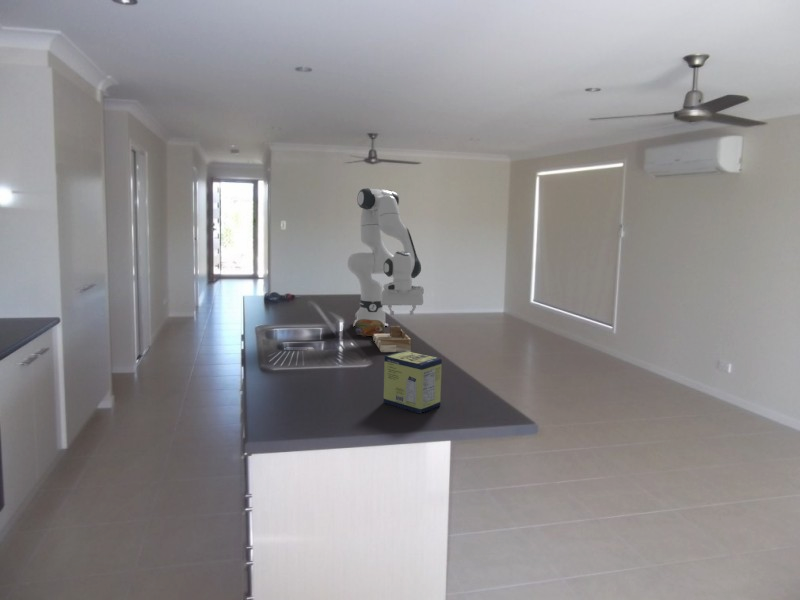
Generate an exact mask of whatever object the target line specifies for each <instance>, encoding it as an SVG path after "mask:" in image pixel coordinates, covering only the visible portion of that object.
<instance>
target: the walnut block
mask: <svg viewBox="0 0 800 600" xmlns="http://www.w3.org/2000/svg"><path fill="white" fill-rule="evenodd" d="M401 329H402V327H401V326H400V325H390V326H389V334H390V336H391V337H401Z"/></svg>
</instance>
